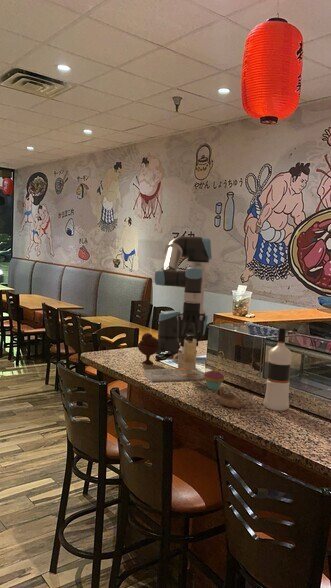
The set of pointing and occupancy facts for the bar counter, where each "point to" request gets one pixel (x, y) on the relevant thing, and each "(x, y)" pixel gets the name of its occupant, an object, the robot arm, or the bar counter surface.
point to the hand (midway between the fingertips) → (188, 353)
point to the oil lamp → (228, 399)
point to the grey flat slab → (173, 374)
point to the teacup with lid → (180, 362)
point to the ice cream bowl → (148, 347)
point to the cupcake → (214, 378)
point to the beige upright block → (189, 352)
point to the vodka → (278, 375)
